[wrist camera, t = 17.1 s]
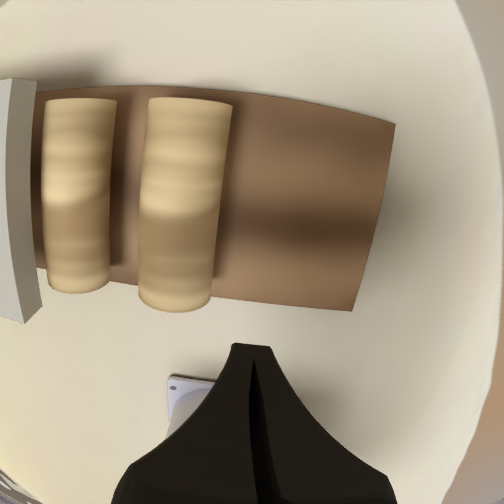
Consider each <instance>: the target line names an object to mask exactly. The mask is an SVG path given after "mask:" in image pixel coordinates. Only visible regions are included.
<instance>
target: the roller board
mask: <svg viewBox="0 0 504 504" xmlns="http://www.w3.org/2000/svg"><path fill="white" fill-rule="evenodd" d="M395 125H396V124H394V123H390V122H387V121H383V120H380V119H376V118H372V117H369V116H365V115H361V114H357V113H353V112H349V111H345V110H340V109H336V108H331V107H327V106H322V105H317V104H312V103H307V102H302V101H296V100H291V99H285V98H278V97H272V96H265V95H258V94H251V93H243V92H234V91H224V90H213V89H201V88H185V87H161V86H113V87H90V88H75V89H63V90H53V91H44V92H36V94H35V102H34V111H33V122H32V136H31V157H30V197H31V219H32V233H33V244H34V254H35V262H36V267H37V268H42V269H46V270H47V278H48V283H49V285H50V286H51V287H52V288H53V289H55V290H56V291H59V292H63V293H69V294H81V293H88V292H92V291H95V290H98V289H100V288H102V287H103V286H105V285H106V284H107V283H108V282H109V281H113V282H119V283H125V284H131V285H137V286H138V291H139V297H140V299H141V300H142V302H143V303H145V304H146V305H148V306H149V307H151V308H154V309H156V310H160V311H164V312H172V313H182V312H190V311H194V310H197V309H200V308H202V307H203V306H205V305H206V304H207V303H208V302H209V300H210V296H212V297H220V298H228V299H236V300H244V301H252V302H261V303H270V304H279V305H288V306H298V307H308V308H318V309H329V310H340V311H352V310H353V306H354V303H355V300H356V297H357V293H358V290H359V287H360V283H361V280H362V276H363V273H364V269H365V266H366V262H367V258H368V255H369V251H370V247H371V243H372V239H373V235H374V231H375V227H376V223H377V218H378V214H379V210H380V205H381V201H382V196H383V191H384V187H385V182H386V177H387V172H388V166H389V161H390V155H391V150H392V144H393V138H394V131H395Z"/></svg>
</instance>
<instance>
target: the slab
mask: <svg viewBox="0 0 504 504" xmlns="http://www.w3.org/2000/svg"><path fill="white" fill-rule="evenodd" d="M36 87H37V81H32V80H25V79H17V78H9V79H5V80H0V316H1V317H4V318H7V319H10V320H13V321H16V322H20V323H23V324H25V323H26V322H27V321H28V320H29V319H30V318H31V317H32V316H33V315H34V314H35V313H36V312H37V311H38V310H39V309H40V308H41V307H42V301H41V295H40V290H39V283H38V277H37V270H36V262H35V254H34V244H33V233H32V219H31V197H30V157H31V136H32V122H33V111H34V102H35V94H36Z"/></svg>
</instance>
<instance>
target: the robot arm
mask: <svg viewBox="0 0 504 504" xmlns="http://www.w3.org/2000/svg"><path fill="white" fill-rule="evenodd" d="M173 386H175V387H173ZM167 390H168V411H169V428H168V432H167V436H166V439H165V440H164V441H163V442H162V443H161V444H159V445H158V446H157V447H156V448H154V449H153V450H152V451H150V452H149V453H147V454H146V455H144V456H143V457H141V458H140V459H138V460H137V461H135V462H134V463H132V464H131V465H130V466H129V467H128V469H127V470H126V472H125V473H124V475H123V476H122V478H121V480H120V481H119V483H118V485H117V487H116V489H115V492H114V495H113V498H112V502H111V504H397V500H396V497H395V494H394V491H393V488H392V486H391V484H390V482H389V479H388V477H387V476H386V475H385V474H383V473H381V472H380V471H378V470H376V469H374V468H373V467H371V466H370V465H368V464H366V463H365V462H363V461H362V460H360V459H359V458H357V457H356V456H355V455H353V454H352V453H351V452H349V451H348V450H347V449H346V448H344V447H343V446H342V445H341V444H340V443H339V442H338V441H336V440H335V439H334V438H333V437H332V436H331V435H330V434H329V433H328V432H327V431H326V430H325V429H324V428H323V427H322V426H321V425H320V424H319V423H318V422H317V421H316V419H315V418H314V417H313V416H312V415H311V414H310V412H309V411H308V410H307V409H306V407H305V406H304V405H303V403H302V402H301V400H300V399H299V398H298V396H297V395H296V393H295V392H294V390H293V389H292V387H291V385H290V384H289V382H288V380H287V379H286V377H285V375H284V373H283V372H282V370H281V368H280V366H279V364H278V362H277V360H276V358H275V356H274V353H273V351H272V349H271V348H270V346H261V345H252V344H242V343H234V344H232V345H231V351H230V354H229V357H228V359H227V362H226V364H225V366H224V368H223V370H222V372H221V373H220V375H219V377H218V379H217V381H216V382H208V381H201V380H194V379H187V378H181V377H175V376H171V377H169V378H168V381H167ZM0 504H23V503H21V502H19V501H17V500H15V499H13V498H11V497H10V496H8V495H6V494H4V493H2V492H1V491H0ZM492 504H504V497H503V498H501V499H499V500H497V501H495V502H494V503H492Z"/></svg>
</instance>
